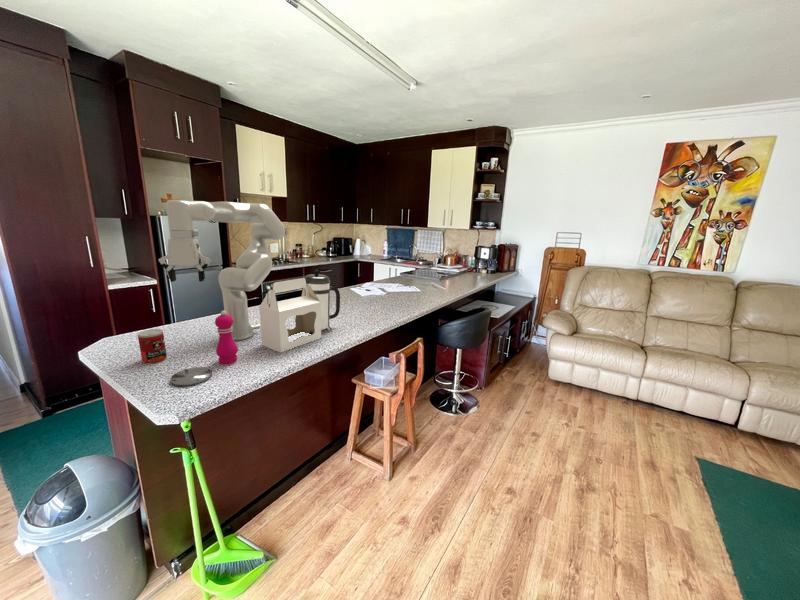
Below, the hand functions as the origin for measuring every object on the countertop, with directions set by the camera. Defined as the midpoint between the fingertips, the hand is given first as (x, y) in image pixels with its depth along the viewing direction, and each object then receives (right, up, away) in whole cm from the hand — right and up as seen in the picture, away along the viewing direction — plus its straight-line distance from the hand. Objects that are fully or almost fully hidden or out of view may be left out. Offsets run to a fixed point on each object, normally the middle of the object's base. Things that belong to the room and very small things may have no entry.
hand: (187, 281), depth 126 cm
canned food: (-13, -30, 0) cm, 33 cm away
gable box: (+33, -26, +22) cm, 47 cm away
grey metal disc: (+10, -34, -13) cm, 38 cm away
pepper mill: (+15, -31, +1) cm, 34 cm away
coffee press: (+40, -22, +38) cm, 60 cm away
